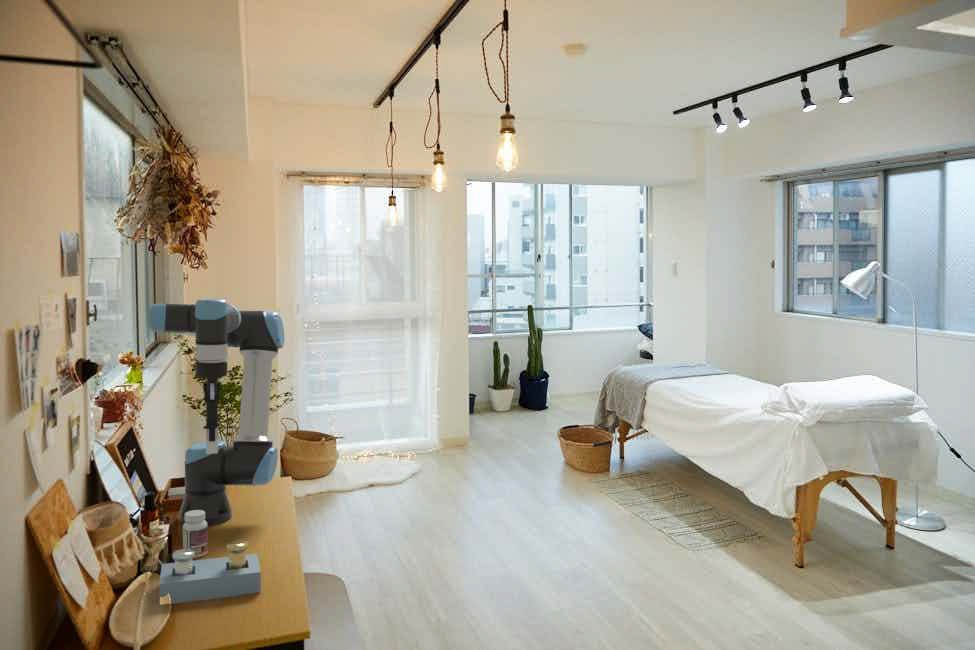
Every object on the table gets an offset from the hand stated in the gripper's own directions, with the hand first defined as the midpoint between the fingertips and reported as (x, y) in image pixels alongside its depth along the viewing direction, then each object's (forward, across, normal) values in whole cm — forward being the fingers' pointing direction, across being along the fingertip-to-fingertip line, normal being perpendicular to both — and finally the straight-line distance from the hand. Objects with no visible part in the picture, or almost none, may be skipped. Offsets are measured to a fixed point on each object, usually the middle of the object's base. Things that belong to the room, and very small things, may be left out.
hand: (211, 452), depth 185 cm
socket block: (+30, +13, -1) cm, 33 cm away
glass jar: (+28, +13, +5) cm, 31 cm away
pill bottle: (+30, -11, -4) cm, 32 cm away
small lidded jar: (+29, +13, -7) cm, 32 cm away
